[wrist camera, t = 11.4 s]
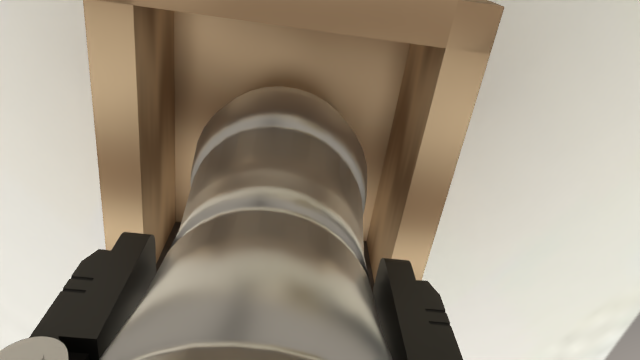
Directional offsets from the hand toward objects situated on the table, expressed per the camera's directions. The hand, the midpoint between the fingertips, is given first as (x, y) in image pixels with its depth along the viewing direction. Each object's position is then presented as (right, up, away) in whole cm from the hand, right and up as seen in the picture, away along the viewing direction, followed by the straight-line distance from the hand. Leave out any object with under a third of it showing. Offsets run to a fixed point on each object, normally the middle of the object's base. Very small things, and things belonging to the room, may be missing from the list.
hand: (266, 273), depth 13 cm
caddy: (0, +5, +10) cm, 12 cm away
